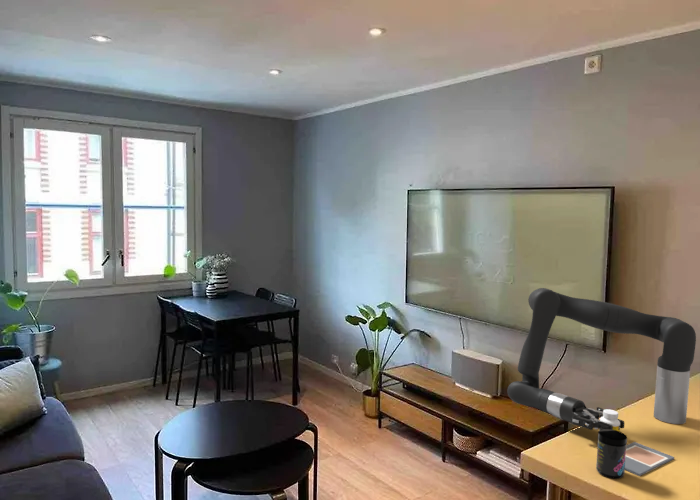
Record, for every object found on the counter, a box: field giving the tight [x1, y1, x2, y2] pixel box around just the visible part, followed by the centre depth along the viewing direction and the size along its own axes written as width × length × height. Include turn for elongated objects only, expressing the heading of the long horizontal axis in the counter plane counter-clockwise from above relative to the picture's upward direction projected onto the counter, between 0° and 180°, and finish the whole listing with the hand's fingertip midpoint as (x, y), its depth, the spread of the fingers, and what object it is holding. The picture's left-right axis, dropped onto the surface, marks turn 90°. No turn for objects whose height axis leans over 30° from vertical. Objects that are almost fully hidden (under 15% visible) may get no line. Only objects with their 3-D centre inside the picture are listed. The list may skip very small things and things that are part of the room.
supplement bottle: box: [598, 408, 621, 432], centre depth 155 cm, size 5×5×10 cm
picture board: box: [625, 441, 675, 477], centre depth 147 cm, size 18×11×1 cm, turn 124°
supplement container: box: [595, 429, 628, 480], centre depth 138 cm, size 7×7×10 cm
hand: (617, 427), depth 153 cm, fingers closed on supplement bottle, 5 cm apart
